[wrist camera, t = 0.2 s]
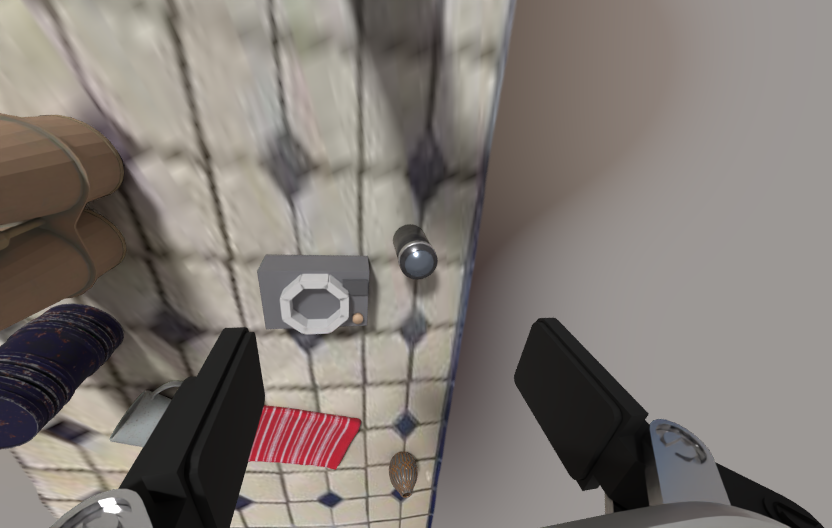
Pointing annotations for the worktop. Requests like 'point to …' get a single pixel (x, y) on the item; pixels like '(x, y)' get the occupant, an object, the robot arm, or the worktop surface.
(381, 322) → the worktop surface
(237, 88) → the worktop surface
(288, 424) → the dish towel
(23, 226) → the binoculars
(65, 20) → the worktop surface
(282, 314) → the camera body
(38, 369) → the storage jar
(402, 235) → the lens
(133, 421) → the ceramic mug
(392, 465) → the vase
